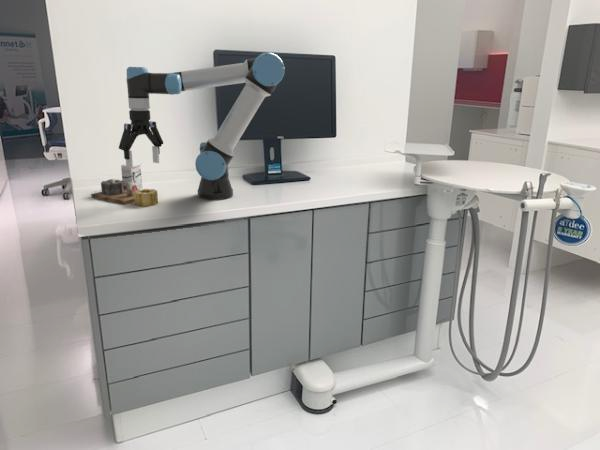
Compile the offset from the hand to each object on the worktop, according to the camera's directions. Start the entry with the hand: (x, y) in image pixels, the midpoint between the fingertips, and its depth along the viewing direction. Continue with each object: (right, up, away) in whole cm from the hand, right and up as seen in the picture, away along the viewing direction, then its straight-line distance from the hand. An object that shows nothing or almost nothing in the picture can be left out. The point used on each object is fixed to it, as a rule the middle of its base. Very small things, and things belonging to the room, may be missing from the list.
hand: (143, 165), depth 188 cm
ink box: (-13, -8, +26) cm, 30 cm away
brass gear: (0, -15, +5) cm, 16 cm away
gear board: (-13, -12, +13) cm, 22 cm away
